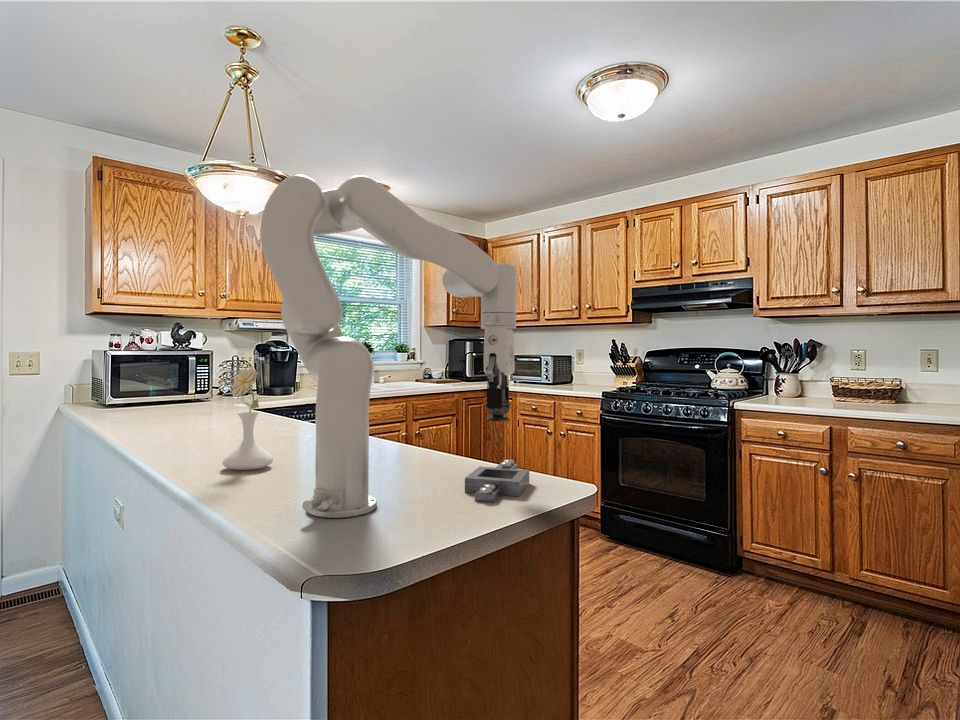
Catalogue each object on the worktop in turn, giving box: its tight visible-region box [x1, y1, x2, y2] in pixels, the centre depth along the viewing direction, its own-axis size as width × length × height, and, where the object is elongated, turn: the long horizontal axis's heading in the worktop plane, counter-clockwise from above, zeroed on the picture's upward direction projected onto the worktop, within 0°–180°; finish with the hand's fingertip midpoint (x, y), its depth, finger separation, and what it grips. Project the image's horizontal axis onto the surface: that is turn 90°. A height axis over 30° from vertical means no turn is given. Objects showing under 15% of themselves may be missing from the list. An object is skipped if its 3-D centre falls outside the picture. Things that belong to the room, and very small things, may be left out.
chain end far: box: [464, 459, 530, 489], centre depth 118 cm, size 17×12×4 cm, turn 165°
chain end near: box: [464, 476, 530, 503], centre depth 112 cm, size 17×12×2 cm, turn 165°
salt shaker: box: [484, 372, 513, 422], centre depth 115 cm, size 6×6×12 cm
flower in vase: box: [222, 366, 274, 471], centre depth 130 cm, size 13×11×25 cm
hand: (498, 405), depth 115 cm, fingers closed on salt shaker, 5 cm apart
